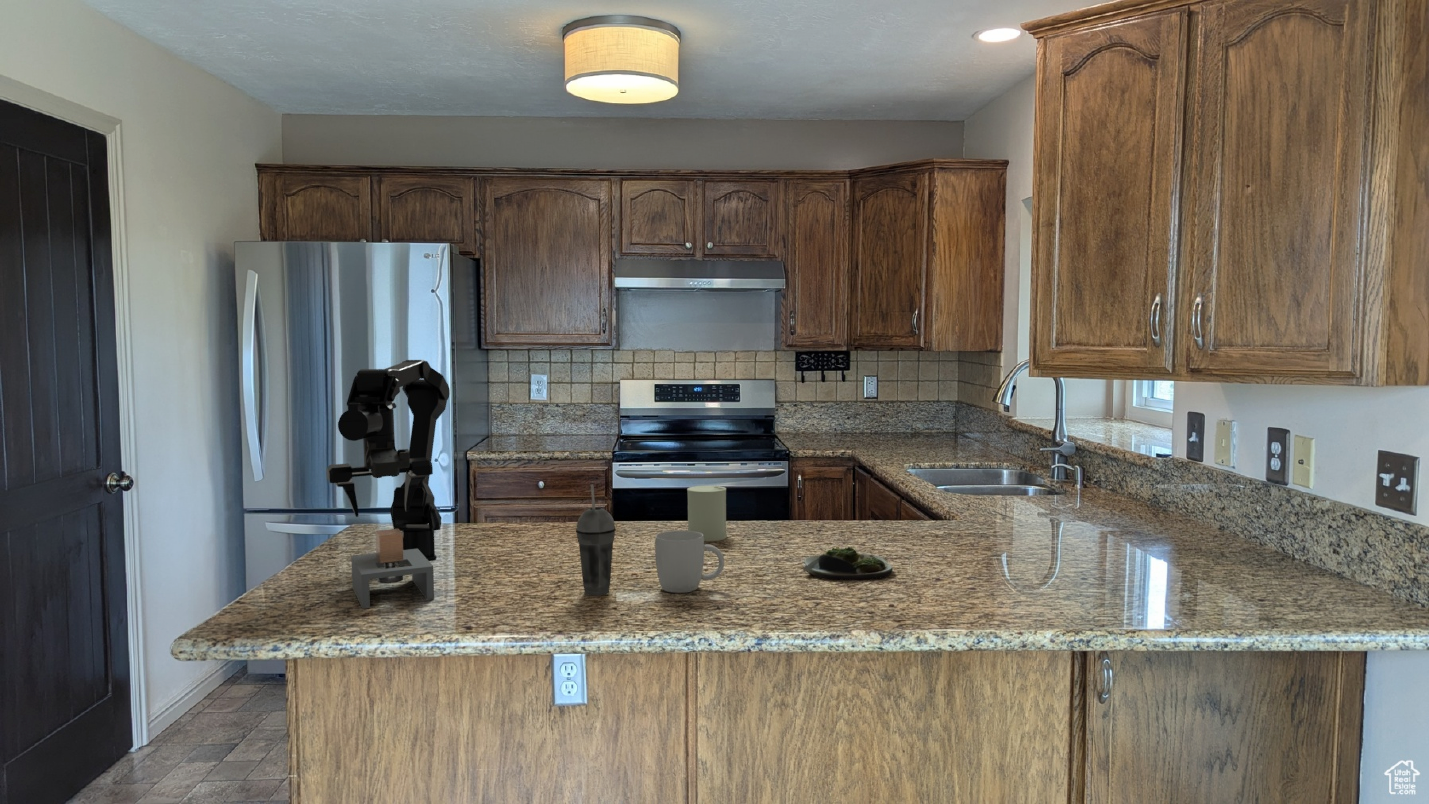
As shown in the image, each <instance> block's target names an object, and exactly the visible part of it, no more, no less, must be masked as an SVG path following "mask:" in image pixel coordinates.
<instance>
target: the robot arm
mask: <svg viewBox="0 0 1429 804" xmlns="http://www.w3.org/2000/svg"><path fill="white" fill-rule="evenodd" d="M401 387H402V389H401ZM401 390H402V391H403V393H404V394H405V396H406V398H407V405H408V408H409V409H410V411H411V413H412V416H413V417H412V424H411V425H412V426H411V433H410V441H409V449H408V448H404V449H403V448H402V449H401V448H400V449H398V450H397V449H396V439H395V438H396V437H395V418H394V416H395V413H394V410H395V409H396V408H397V403H395V399H396V396H398V395H399V394H400V393H401ZM449 399H450V387H449V384H448V382H447V381H446V379H445V377H444V375H443V374H441V373H440V372H438V370H435V369H434V368H432V367H431V365H430V363H429V362H428V361H427V360H424V359H406V360H403V361H402V362H400V363H398V364H395V365H392V366H389V367H386V368H370V369H369V368H364V369H363V368H362V369H360V370H358V371H357V373H356V375H355V376H354V377H353V381H352V384H351V388H350V391H349V394H348V398H347V401H346V406H347V410H346V411H344V412H343V413H342V414H341V415H340V417H339V419H338V422H337V429H338V431H339V433H340V435H341V436H342V437H343V438H345V439H346V440H348V441H351V442H355V441H359V440H362V442H363V446H362V447H363V464H364V465H363V466H354V467H352V465H351V464H349V463H337V464H336V463H334V464H329V465H328V466H327V468H326V480H327V481H328V483H330V484H335V486H336V487H338V488H343V491H344V493H345V494H346V496H347V498H348V501H349V503H350V506H351V509H352V511H353V514H354V516H355V517H356V518H359V507H358V501H357V495H356V489H355V486H356V485H355V482H353V480H352V479H353V478H357V477H367V476H371V477H373V478H375V479H380V478H381V479H382V478H384V477H394V478H395V477H398V476H399V475H400V474H403V473H404V474H405V479H404V482H403V483H402V484H401V486H397V487H395V488H394V491H393V500H392V504H391V507H390V518H391V522H392V527H393V528H392V529H399V530H400V531H401V532H402V533H403V550H409V549H419V551H420V552H421V553H422V554H423V555H424V556H425V557H426V559H427V560H428V561H429V560H436V559H438V558H437V555H436V554H435V553H436V552H435V548H436V547H435V531H440V530H441V527H442V516H441V514H440V512H439V511H438V509H437V507H436V504H435V501H436V499H435V495H434V493H433V491H432V490H431V488H430V485H429V483H430V482H429V481H430V476H431V475H433V473H434V471H433V470H434V469H433V462H432V459H433V458H432V456H433V452H434V451H433V449H434V442H435V434H436V425H437V420H438V419H439V418H440V416H441V415H442V414H443V413H444V412H445V410H446V407H447V402H448V400H449Z"/></svg>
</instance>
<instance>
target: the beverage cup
mask: <svg viewBox="0 0 1429 804" xmlns="http://www.w3.org/2000/svg"><path fill="white" fill-rule="evenodd" d="M594 489H595V488H594V484H590V492H591V495H590V496H591V507H590V508H588V509H586V510H584V511H583V512H582V513H581V514H580V515H579V518H578V520H577V524H576V529H575V532H576V538H577V543H578V547H579V548H578V549H579V555H580V567H581V576H582V584H583V590H584V595H586V596H589V597H590V596H591V597H600V596H605V595H608V594H609V593H610V585H611V577H612V576H611V575H612V562H613V549H614V541H615V536H616V530H617V529H616V525H615V520H614V518H613V516H612V515H611V513H609V512H608V511H607V510H606V509H604V508H602V507H596V502H595V501H596V500H595V490H594Z"/></svg>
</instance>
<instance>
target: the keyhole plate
mask: <svg viewBox="0 0 1429 804" xmlns="http://www.w3.org/2000/svg"><path fill="white" fill-rule="evenodd" d="M395 563H396V564H397V566H396V567H397V568H389V569H381V568H385V563H380V562H379V560H378V559H377V555H376V552H373V553H363V554H355V555H351V581H352V589H353V592H354V594H355V595H356V597H357V600H358V602H359V604H360V606H361V608H362V610H365V609H370V608H371V602H370V601H371V598H370V595H371V593H370V580H375V579H377V580H378V578H385V577H394V576H402V575H403V576H407V575H408V576H410V575H411V580H412V582H413V583H414V584H415V586H416V587H417V589H418V590H419V591H420V592H421V594H422V596H423V597H424V598H425V599H426V601H431V600H435V588H434V587H435V583H434V578H435V577H434V575H435V574H434V565H433V564H432V563H431V562H430V561H429V560H427V559H426V557H425V556H424V555H423V554H422V553H421V552H420V551H419V549H409V550H403V561H395ZM406 565H407V566H406ZM379 569H380V570H379Z"/></svg>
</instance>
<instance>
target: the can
mask: <svg viewBox="0 0 1429 804" xmlns="http://www.w3.org/2000/svg"><path fill="white" fill-rule="evenodd" d="M686 491H687V531H695V532H700V533H702V534H703V536H704V543H705V542H719V541H723V540H725V539H727V537H728V535H727V487H724V486H719V485H695V486H690V487H688V488H687V489H686Z"/></svg>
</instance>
